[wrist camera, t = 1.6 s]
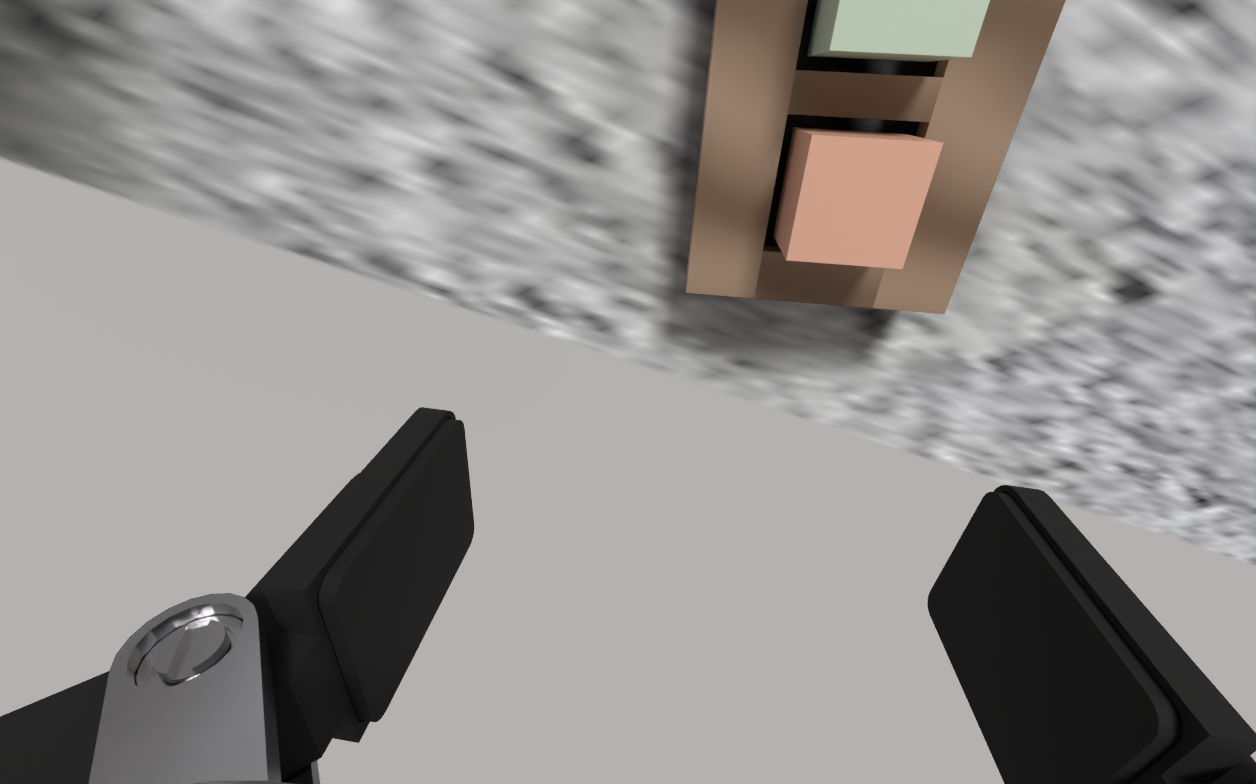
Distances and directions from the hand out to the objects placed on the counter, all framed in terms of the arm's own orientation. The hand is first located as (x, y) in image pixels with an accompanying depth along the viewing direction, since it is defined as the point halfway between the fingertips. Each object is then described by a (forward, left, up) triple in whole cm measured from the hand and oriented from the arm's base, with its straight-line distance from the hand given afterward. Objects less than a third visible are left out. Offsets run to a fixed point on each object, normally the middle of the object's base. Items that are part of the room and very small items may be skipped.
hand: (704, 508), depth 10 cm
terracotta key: (-3, +6, -18) cm, 19 cm away
